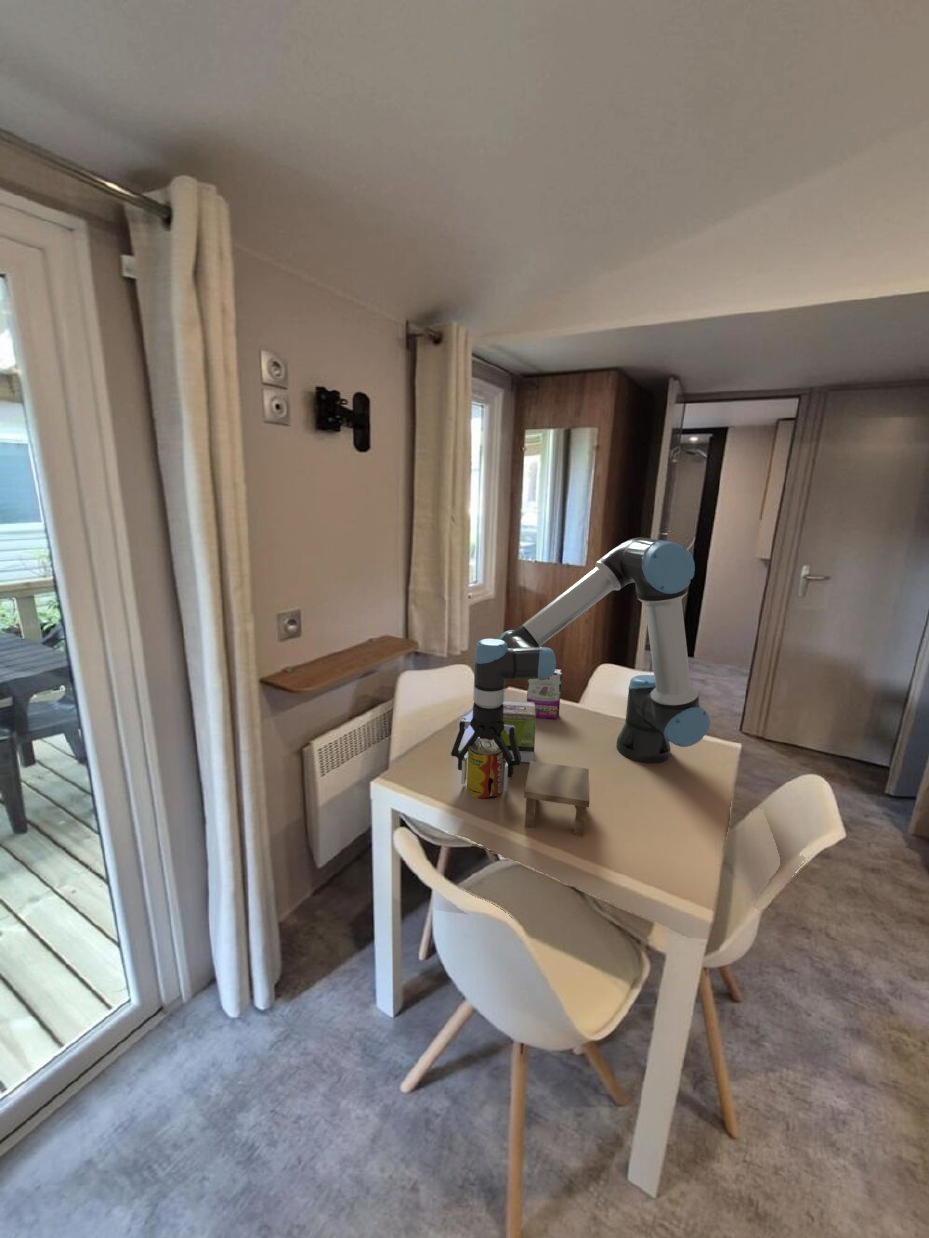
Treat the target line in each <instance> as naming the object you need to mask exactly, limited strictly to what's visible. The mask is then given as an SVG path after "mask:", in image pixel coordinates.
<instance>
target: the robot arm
mask: <svg viewBox="0 0 929 1238" xmlns="http://www.w3.org/2000/svg"><path fill="white" fill-rule="evenodd" d="M594 565H595V566H594V568H593V569H592V570H590V571H589V572H588V573H587V574H586V575H584V576H583V577H582V578H580V579H579V580H578V581H576V582H575V583H574V584H573V585H572V586H570V587H569V588H568V589H566V590H565V591H564V592H563V593H561V594H559V595H558V596H557V597H556V598H555V599H553V600H552V601H551V602H550V603H549V604H548V605H546V606H544V607H543V608H541V610H539V611H538V612H537V613H535V614H534V615H533V616H532V617H530V618H529V619H528V620H526V621H525V622H524V623H523V624H522V625H521V626H519V627H517V628H516V629H515V630H514V629H509V630H506V631H504V632H502V633H501V635H500V636H499V637H498V638H495V639H494V638H483V639H481V640H478V641H477V643H476V645H475V652H474V658H473V661H474V671H473V672H474V676H473V677H474V678H473V679H474V680H473V690H472V691H473V693H472V694H473V696H472V700H473V703H472V717H471V719H466V717H462V718H461V720H460V721H459V728H458V729H459V730H458V733H457V736H456V739H455V742H454V744H453V747H452V750H451V752H450V756H451V757H456V759H457V769H458V771H460V772H461V778H460V780H461V785H465V784H466V782H467V769H468V755H467V754H468V748H469V746H472V745H473V743H474V742H475V741H476V740H477V738H480V739H489V740H493V739H494V741H495V743H496V744H497V745H498V747H499V749H500V750H503V757H504V759H505V760H506V761H505V763H504V772H503V791H505V792H506V791H507V790H508V787H509V778H513V774H514V766H520V765H521V763H522V762H521V755H520V751H519V747H518V743H517V739H516V735H515V728H516V725H515V724H512V725H506V724H504V721H503V712H504V704H503V703H504V700H505V691H506V690H505V689H506V681H507V680H528V679H541V678H549V677H551V676H552V675H553V674H554V672H555V669H557V668H556V665H557V661H556V660H557V659H556V656H555V652H554V651H553V649H552V648H550V647H545V646H543V645H544V644H545V643H547V642H548V641H549V640H550V639H551V638H552V637H554V636H556V635H558V633H559V632H561V631H562V630H563V629H565V628H566V627H567V626H569V625H570V624H571V623H572V622H574V621H575V620H576V619H578V618H579V617H580V616H581V615H582V614H584V613H585V612H587V611H588V610H589V609H590V608H591V607H593V606H595V605H596V604H597V603H598V602H600V601H601V600H602V599H603V598H604V597H606V596H607V595H608V594H610V593H611V592H613V591H620V590H621V589H622V588H624V587H625V586H626V585H628V584H632V583H634V584H635V592H636V597H637V600H639V601H640V602H641V603H643V604H644V609H645V610H644V611H645V617H646V623H647V625H646V626H647V631H648V638H649V639H648V640H649V647H650V654H651V661H652V662H651V663H652V670H653V674H640V675H639V674H638V675H635V676H633V677H631V679H630V681H629V685H628V695H627V701H626V702H627V704H626V711H625V712H626V713H625V721H624V722H625V723H623V727H622V729H621V730H620V733H619V734H618V737H617V739H616V746H615V747H616V749H617V751H618V752H619V753H620V754H622V755H623V756H625V757H626V758H629V759H631V760H634V761H638V762H643V763H650V764H653V763H654V764H655V763H658V764H659V763H663V762H665V761H668V760H669V759H670V757H671V746H670V743H671V744H673V745H675V746H677V747H680V748H681V747H682V748H686V747H691V746H693V745H696V744H698V743H700V742H701V741H702V740H703V738H704V737H705V736H707V734H708V731H709V730H710V727H711V717H710V715H709V714H708V712H707V711H706V710H705V709H704V708H703V707H701V705H700V698H699V697H700V696H699V691H698V689H697V688H696V687H694V686H693V685H692V682H691V674H690V666H689V665H690V664H689V656H688V646H687V638H686V636H687V635H686V629H685V628H686V627H685V620H684V613H683V611H684V609H683V602H682V600H683V598H684V597H685V596H686V595H687V594H688V586H690V584H691V580H693V579H694V577H695V571H696V569H695V568H696V566H695V560H694V558H693V556H692V554H691V552H690V551H689V550H688V549H687V548H686V547H684V546H683V545H682V544H679V543H676V542H674V541H671V540H668V539H667V540H666V539H655V538H648V537H643V536H641V537H635V538H634V537H633V538H631V539H628V540H626V541H624V542H622V543H620V544H619V545H617V546H616V547H614V548H612V550H610V551H609V552H608V553H606V554H605V555H603V556H602V557H601V558H599V560H597V561H596V562H595V564H594ZM469 726H470V727H471V729H472V730H473V734H472V735H470V738H469V739H468V740H467V742H466V743H465V745H464V746H463V747H462V749H461V750H459V749H460V745H461V742H462V740H463V737H464V734H465V732H466V730H467V729H468V728H469ZM503 730H506V733H507V734H508V735H509V740H510V744H511V748H512V752H513V756H514V758H513V757H512V755H511V753H510V751H509V749H508V747H507V745H506V744H505V742H504V740H503V738H502V735H501V732H502V731H503Z"/></svg>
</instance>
